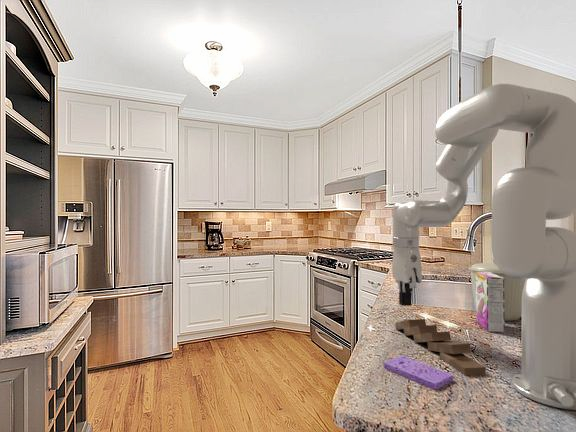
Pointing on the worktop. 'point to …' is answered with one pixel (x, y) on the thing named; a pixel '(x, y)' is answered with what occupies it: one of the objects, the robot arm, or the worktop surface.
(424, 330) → the tile
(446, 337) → the tile
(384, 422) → the worktop surface
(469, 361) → the tile
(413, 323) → the tile
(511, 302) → the canister
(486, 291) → the candy bar box
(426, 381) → the sponges
